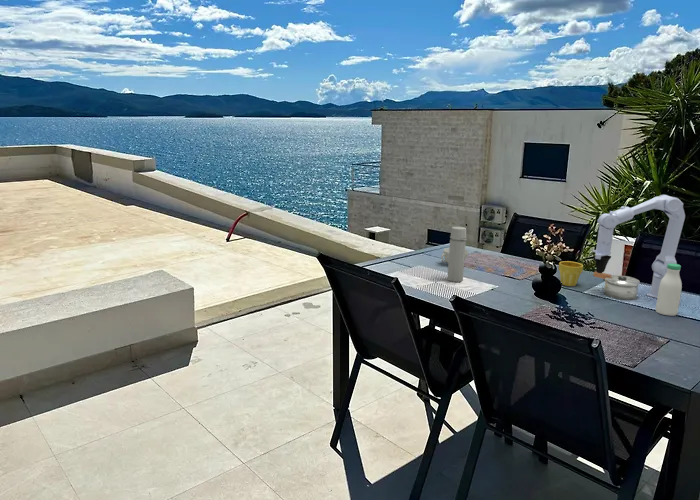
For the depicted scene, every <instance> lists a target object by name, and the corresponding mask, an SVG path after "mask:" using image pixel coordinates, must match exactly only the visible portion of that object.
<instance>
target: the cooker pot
mask: <svg viewBox="0 0 700 500" xmlns="http://www.w3.org/2000/svg"><path fill="white" fill-rule="evenodd" d="M603 281H604V286H603V287H604V288H603V294H604V295H605V296H606V297H608V296H609V298H611V297H612V298H611V299H615V300H622V301H633V300H636V299H637V298H638V291H639V286H635V287H625V286H618V285H614V284H610V283H608V282H606V281H605V279H603Z"/></svg>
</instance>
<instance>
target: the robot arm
mask: <svg viewBox="0 0 700 500" xmlns="http://www.w3.org/2000/svg"><path fill="white" fill-rule="evenodd" d="M651 210H660V211H663V212H664V213H665V215H666V216H667V217H668V218H669V220H668V222H667V223H668V224H667V227H666V231H665V234H664V239H663V243H662V246H661V250H660V253H659V254H658V255H656V257H655V260H654V261H653V263H652V264H651V269H652V271H653V273H652V274H653V275H652V282H651V288H650V292H649V293H646V296H647V297H652V298H656V299H657V297H658V291H659V286H660V282H661V280H662V278H663V277H664V276H665V274H666V272H667V265H668V264H669V263H673V264H678V263H677V262H678V261H677V260H676V257H675V256H676V253H677V249H678V244H679V242H680V238H681V235H682V230H683V226H684V222H685V219H686V213H685V209H684V202H683V201H681V199H679V198H678V197H675V196H670V195H668V194H660V195H659V196H657V195H656V196H654V197H653V198H651V199H648V200H646V201H644V202H642V203H639V204H637V205H635V206H632V207H629V206H625V205H622V206H621V207H620V208H619V209H617V210H609V213H602V214H601V215H600V216H598V219H597V223H598V226H599V227H598V233H597V240H596V248H595V249H593V250H592V252H593V253H595V255H594V256H593V260H594V262H595V263H594V264H595V271H597V273H605V271H606V268H607V265H608V263H609V260H611V258H612V256H611V254H612V252H611V250H612V243H613V237H614V229H615V227H617V225H620V224H622V223H624V222H625V223H626V222H627V221H630V220H632V219H633V218H634V216H635V215H639V214H641V213H645V212H647V211H651Z"/></svg>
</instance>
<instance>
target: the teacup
mask: <svg viewBox="0 0 700 500" xmlns="http://www.w3.org/2000/svg"><path fill="white" fill-rule="evenodd" d="M449 248H450V247H446V248H444V249H443V251H442V252H443V253H442V254H441V259H440V260H441V261H442V262H443V263H447V264H448V263H449ZM468 253H469V250H467V249H465V258H464V262H465V261H466V259H467V258H468V257H467V256H468ZM443 258H444V259H443Z"/></svg>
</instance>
